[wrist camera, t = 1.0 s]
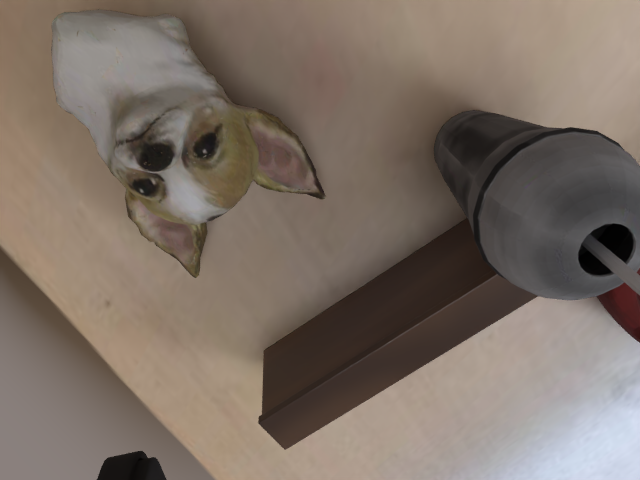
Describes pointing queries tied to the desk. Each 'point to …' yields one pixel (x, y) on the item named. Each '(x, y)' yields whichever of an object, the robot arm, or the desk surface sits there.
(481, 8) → the desk surface
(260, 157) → the ceramic sculpture
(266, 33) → the desk surface
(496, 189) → the beverage cup
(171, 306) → the desk surface
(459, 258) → the backboard
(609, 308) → the ashtray
